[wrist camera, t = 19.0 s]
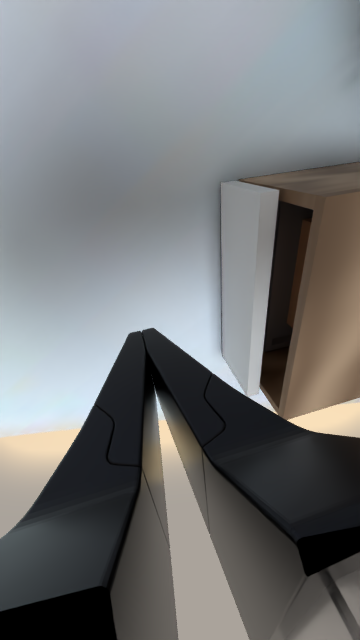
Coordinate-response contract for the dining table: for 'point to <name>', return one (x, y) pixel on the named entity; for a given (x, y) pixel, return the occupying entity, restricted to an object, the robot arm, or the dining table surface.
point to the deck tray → (256, 275)
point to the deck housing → (320, 295)
